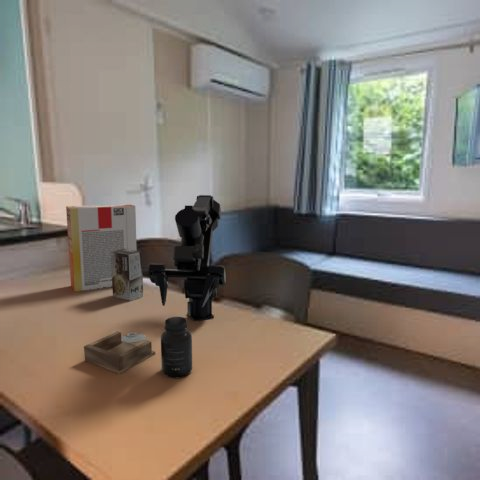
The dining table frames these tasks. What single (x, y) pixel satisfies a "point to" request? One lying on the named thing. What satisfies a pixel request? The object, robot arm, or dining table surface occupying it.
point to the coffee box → (127, 274)
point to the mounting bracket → (133, 338)
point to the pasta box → (97, 241)
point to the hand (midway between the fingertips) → (182, 305)
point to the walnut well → (116, 353)
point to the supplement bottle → (176, 348)
